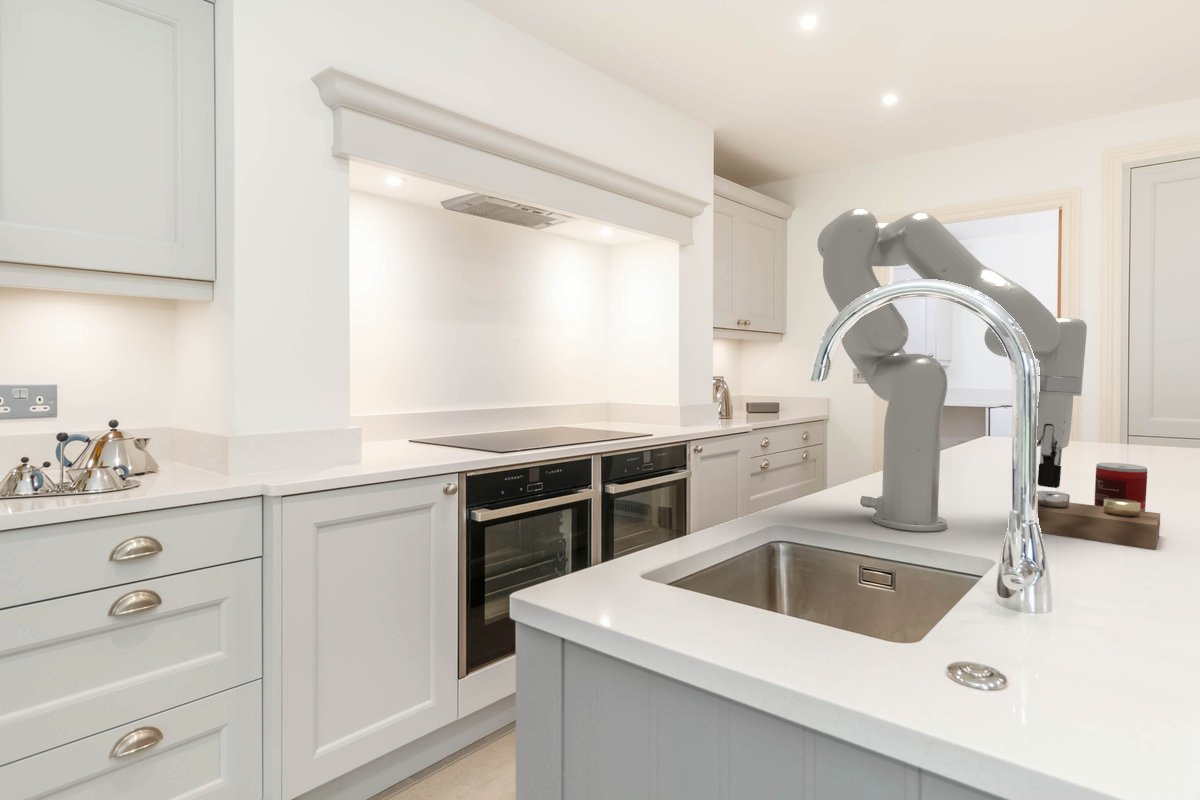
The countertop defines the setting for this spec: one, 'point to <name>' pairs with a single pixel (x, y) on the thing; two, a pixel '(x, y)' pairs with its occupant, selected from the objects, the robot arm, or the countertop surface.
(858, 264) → the robot arm
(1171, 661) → the countertop surface
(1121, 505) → the brass button
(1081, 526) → the button block
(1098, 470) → the canned food
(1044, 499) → the steel button
